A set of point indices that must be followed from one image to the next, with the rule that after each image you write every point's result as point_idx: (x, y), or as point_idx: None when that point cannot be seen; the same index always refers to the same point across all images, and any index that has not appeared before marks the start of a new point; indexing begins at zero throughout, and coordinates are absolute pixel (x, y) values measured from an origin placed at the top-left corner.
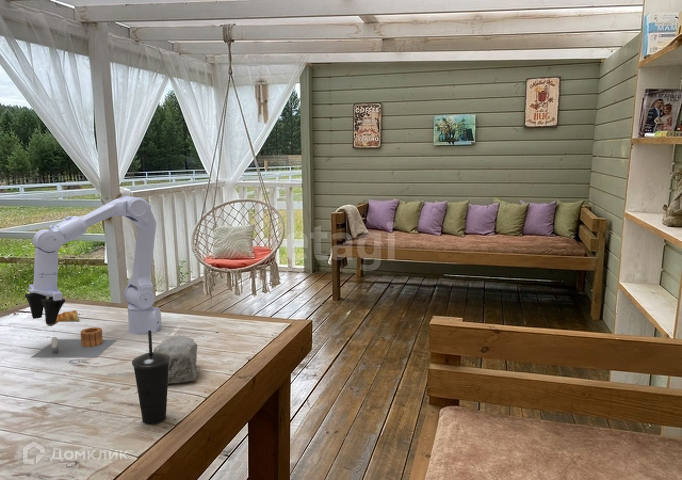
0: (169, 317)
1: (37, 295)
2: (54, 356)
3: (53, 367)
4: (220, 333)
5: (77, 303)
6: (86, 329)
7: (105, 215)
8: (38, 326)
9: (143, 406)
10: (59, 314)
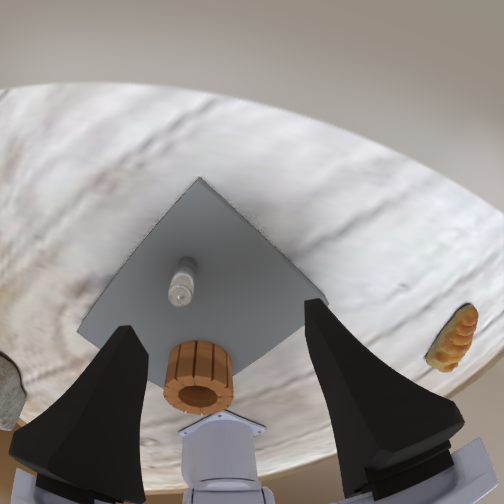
0: (287, 460)
1: (358, 472)
2: (146, 251)
3: (103, 226)
4: (144, 466)
5: (492, 358)
6: (221, 392)
7: None
8: (477, 283)
9: None
10: (468, 339)
